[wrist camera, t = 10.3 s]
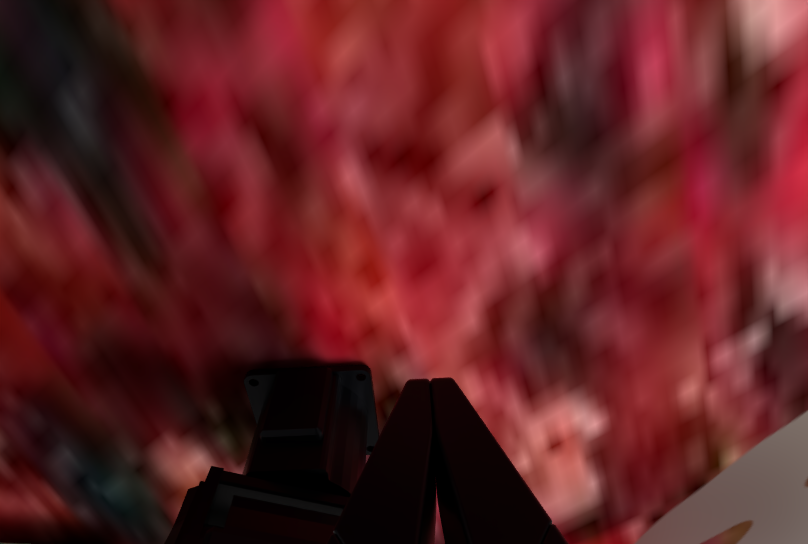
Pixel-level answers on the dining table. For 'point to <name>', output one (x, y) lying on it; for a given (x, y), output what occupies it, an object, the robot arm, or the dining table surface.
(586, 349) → the dining table surface
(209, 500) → the robot arm
